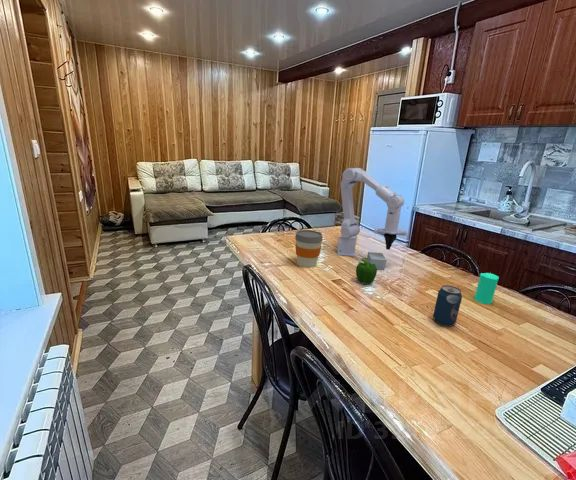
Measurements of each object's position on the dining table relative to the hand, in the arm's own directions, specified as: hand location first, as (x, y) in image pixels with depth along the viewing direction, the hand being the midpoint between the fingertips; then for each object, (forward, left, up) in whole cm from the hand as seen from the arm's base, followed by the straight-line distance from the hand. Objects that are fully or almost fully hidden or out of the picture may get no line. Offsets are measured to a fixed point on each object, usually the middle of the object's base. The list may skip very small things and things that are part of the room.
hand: (387, 248), depth 149 cm
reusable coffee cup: (-38, -7, -9) cm, 40 cm away
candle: (+31, -30, -9) cm, 44 cm away
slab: (-1, 0, -6) cm, 6 cm away
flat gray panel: (-6, 0, -8) cm, 10 cm away
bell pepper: (-13, -22, -9) cm, 27 cm away
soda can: (+9, -49, -9) cm, 51 cm away
